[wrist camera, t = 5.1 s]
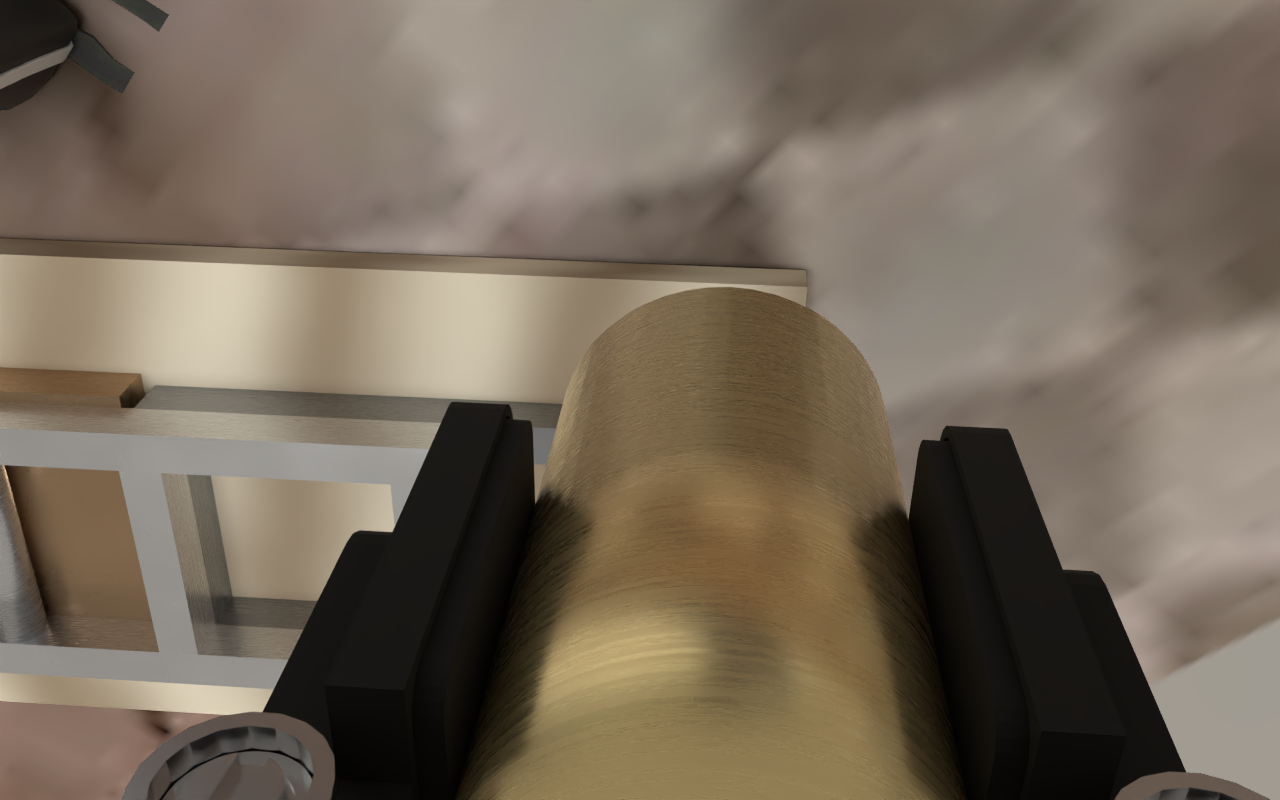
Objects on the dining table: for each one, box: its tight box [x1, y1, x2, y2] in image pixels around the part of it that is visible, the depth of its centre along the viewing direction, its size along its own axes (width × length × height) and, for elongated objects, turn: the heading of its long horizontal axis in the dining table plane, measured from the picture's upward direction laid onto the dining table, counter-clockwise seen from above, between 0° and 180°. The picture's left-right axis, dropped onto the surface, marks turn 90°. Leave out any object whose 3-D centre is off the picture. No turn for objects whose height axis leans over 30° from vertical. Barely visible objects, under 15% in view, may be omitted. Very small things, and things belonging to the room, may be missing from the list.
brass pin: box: [454, 287, 968, 800], centre depth 10 cm, size 4×4×9 cm
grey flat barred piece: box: [0, 367, 441, 689], centre depth 31 cm, size 16×8×2 cm, turn 89°
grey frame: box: [134, 385, 563, 630], centre depth 31 cm, size 16×7×1 cm, turn 89°
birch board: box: [0, 238, 808, 715], centre depth 32 cm, size 24×14×1 cm, turn 89°
